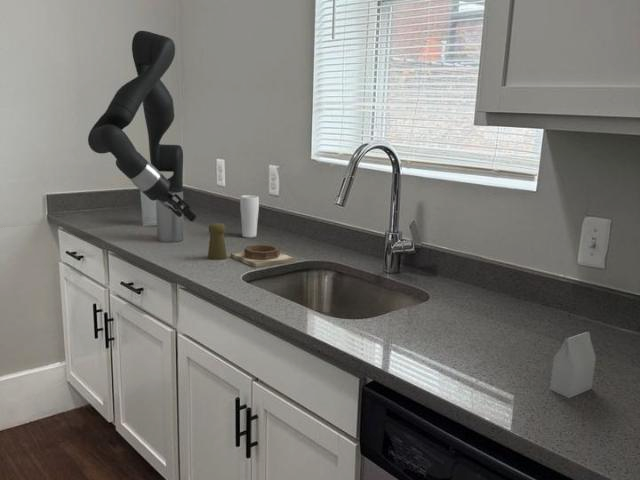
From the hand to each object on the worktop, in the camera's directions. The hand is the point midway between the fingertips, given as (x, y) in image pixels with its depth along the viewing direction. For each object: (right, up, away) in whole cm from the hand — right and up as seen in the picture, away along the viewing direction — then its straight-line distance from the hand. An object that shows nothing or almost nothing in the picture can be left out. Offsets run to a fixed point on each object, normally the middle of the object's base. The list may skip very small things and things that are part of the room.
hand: (187, 217), depth 174 cm
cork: (+7, -13, +9) cm, 17 cm away
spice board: (+21, -13, +9) cm, 27 cm away
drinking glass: (+13, -6, +41) cm, 44 cm away
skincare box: (-27, -1, +56) cm, 62 cm away
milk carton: (+84, -33, -72) cm, 115 cm away
